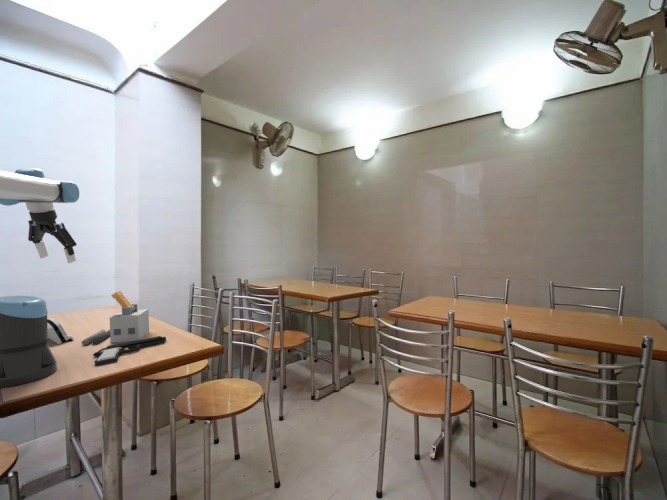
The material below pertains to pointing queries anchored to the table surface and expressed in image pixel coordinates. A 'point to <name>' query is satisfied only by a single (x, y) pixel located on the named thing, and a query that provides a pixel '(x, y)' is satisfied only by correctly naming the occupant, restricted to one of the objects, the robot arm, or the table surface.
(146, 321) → the breaker box
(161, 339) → the handgun
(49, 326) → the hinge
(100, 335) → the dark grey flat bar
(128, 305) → the lever
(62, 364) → the table surface
